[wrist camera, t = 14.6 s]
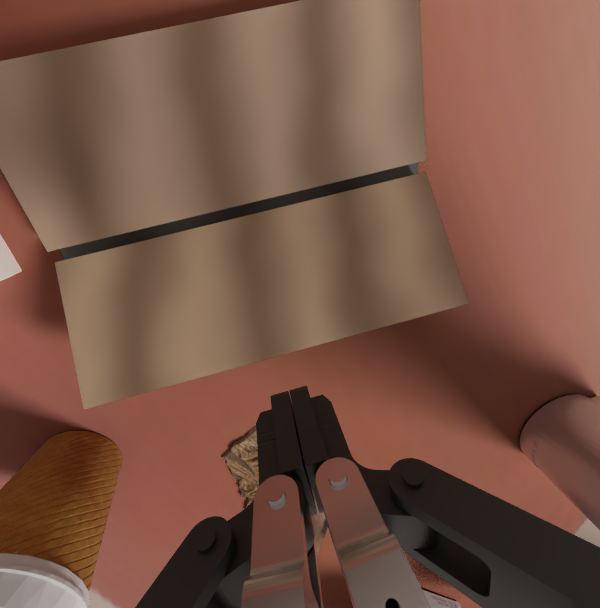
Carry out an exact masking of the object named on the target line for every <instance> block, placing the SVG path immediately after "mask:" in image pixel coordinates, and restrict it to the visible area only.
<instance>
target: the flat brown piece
mask: <svg viewBox="0 0 600 608" xmlns="http://www.w3.org/2000/svg"><path fill="white" fill-rule="evenodd" d="M257 447H258V446H257V432H256V426H255V427H253V428H252V429H251V430H250V431H249V433H248V435H247V436H245V437H244V438H242V439H240V440H238V441H236V442H234V444H233V445H232V448H231V450H229V451H228V452H227V453H226V454H224V455H223V457H222V458H224V459H226V462H227V465H228V466H229V468H230V470H231V473H232V475H233V477H234V478H235V479H239V484H240V485H239V488H240V490H241V491H240V496H242V497H248V501H247V505H246V508H247V507H248V506H249V505H250V503H251V502H252V501H253V499H254V496H255V493H256V491H257V489H258V487H259V470H258V451H257ZM312 491H313V490H312ZM313 496H314V493H313ZM314 500H315V497H314ZM315 505H316V509H317V514H316V515H312V516H311V518H312V523H313V528H314V535H315V536H314V539H315V543H316V551H317V557H318V554H319V550H320V547H321V544H322V541H323V538H324V536H325V534H326V531H327V527H328V524H327V521H326V517H325V514H324V512H321V513H319V510H318V507H317V503H316V500H315Z"/></svg>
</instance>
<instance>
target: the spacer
mask: <svg viewBox="0 0 600 608" xmlns="http://www.w3.org/2000/svg"><path fill="white" fill-rule="evenodd" d="M19 272H22V270H21V268H20V266H19V265H18V263H17V261H16V260H15V258H14V256H13V255H12V253H11V251H10V250H9V248H8V246H7V245H6V243H5V241H4V240H3V238H2V236H1V235H0V281H2V280H4V279H6V278H9V277H11V276H13V275H15V274H17V273H19Z"/></svg>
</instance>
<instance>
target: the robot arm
mask: <svg viewBox="0 0 600 608" xmlns="http://www.w3.org/2000/svg"><path fill="white" fill-rule="evenodd" d="M290 396H291V399H290ZM291 400H292V402H291ZM271 404H272V409H271V410H268V411H264V412H261V413H260V415H259V418H258V420H257V423H256V432H257V446H258V447H257V451H258V470H259V487H258V489H257V491H256V493H255V496H254V499H253V501H252V502H251V503H250V505H249V506H248V507H247V508H246V509H244V510H243V511H242V512H240V513H239V514H237V515H236V516H234V517H233V518H231V519H230V520H228V521H226V520H225V519H224V518H222V517H217V516H214V517H209V518H206V519H204V520H203V521H201V522H199V523H198V524H197V525H196V526H195V527H194V528H193V529H192V530H191V531H190V533H189V534H188V535H187V537H186V538H185V540H184V541H183V542H182V544H181V545H180V546H179V548H178V549H177V551H176V552H175V553H174V555H173V556H172V558H171V559H170V560H169V562H168V563H167V564H166V566H165V567H164V569H163V570H162V571H161V573H160V574H159V576H158V577H157V578H156V580H155V581H154V582H153V584H152V585H151V587H150V588H149V589H148V591H147V592H146V594H145V595H144V596H143V598H142V599H141V600H140V602H139V603H138V605H137V606H136V607H135V608H324V607H323V599H322V591H321V583H320V575H319V567H318V559H317V551H316V543H315V539H314V536H315V535H314V528H313V523H312V518H311V516H312V515H316V514H317V509H316V505H315V500H316V503H317V507H318V510H319V513H321V512H324V514H325V517H326V521H327V524H328V528H329V531H330V535H331V538H332V541H333V545H334V548H335V551H336V554H337V557H338V560H339V564H340V567H341V570H342V573H343V576H344V579H345V583H346V586H347V589H348V592H349V595H350V598H351V602H352V605H353V608H431V607H430V605H429V603H428V601H427V599H426V596H425V594H424V592H423V590H422V588H421V586H420V584H419V582H418V580H417V578H416V576H415V574H414V572H413V570H412V568H411V566H410V564H409V562H408V560H407V558H406V556H405V554H404V552H403V550H404V551H405V552H406V553H407V554H408V555H409V556H411V557H412V558H414V559H415V560H417V561H418V562H419V563H421V564H422V565H424V566H425V567H426V568H428V569H429V570H431V571H432V572H433V573H435V574H436V575H438V576H439V577H440V578H442V579H443V580H445V581H446V582H447V583H449V584H450V585H452V586H453V587H454V588H456V589H457V590H459V591H460V592H461V593H463V594H464V595H466V596H467V597H468V598H470V599H471V600H473V601H474V602H475V603H477V604H478V605H480V606H481V607H482V608H600V547H598V546H595V545H594V544H591V543H590V542H587V541H585V540H583V539H581V538H579V537H577V536H575V535H573V534H571V533H569V532H567V531H565V530H563V529H561V528H559V527H557V526H555V525H553V524H551V523H549V522H547V521H544V520H542V519H540V518H538V517H536V516H534V515H532V514H530V513H528V512H526V511H524V510H522V509H520V508H518V507H516V506H514V505H512V504H510V503H508V502H506V501H504V500H501V499H499V498H497V497H495V496H493V495H491V494H489V493H487V492H485V491H483V490H481V489H479V488H477V487H475V486H473V485H471V484H469V483H467V482H465V481H463V480H461V479H458V478H456V477H454V476H452V475H450V474H448V473H446V472H444V471H442V470H440V469H438V468H436V467H434V466H432V465H430V464H428V463H426V462H424V461H421V460H418V459H413V458H406V459H402V460H399V461H398V462H396V463H395V464H394V465H393V466H392V467H391V469H390V470H372V469H368V468H365V467H363V466H361V465H360V464H358V463H357V462H356V461H355V460H354V459H353V457H352V455H351V453H350V451H349V448H348V445H347V443H346V440H345V438H344V435H343V432H342V430H341V427H340V424H339V422H338V419H337V416H336V414H335V411H334V409H333V406H332V403H331V402H330V401H329V400H328V399H327V398H326V397H325V396H324V395H320V396H316V397H313V398H310V395H309V392H308V389H307V386H303V387H300V388H296V389H293V390H290V395H289V392H288V391H286V392H282V393H279V394H275V395H272V396H271ZM292 405H293V406H292ZM520 447H521V450H522V451H523V452H524V454H525V455H526V456H527V457H528V458H529V459H530V460H531V461H532V462H533V463H534V464H535V465H536V466H537V467H538V468H539V469H540V470H541V471H542V472H543V473H544V474H545V475H546V476H547V477H548V478H549V479H550V480H551V481H552V482H553V483H554V484H555V485H556V486H557V487H558V488H559V489H560V490H561V491H562V492H563V493H564V494H565V495H566V496H567V497H568V498H569V499H570V500H571V502H572V503H573V504H574V505H575V506H576V507H577V508H578V509H579V510H580V511H581V512H582V513H583V514H584V515H585V516H586V517H587V518H588V519H589V520H590V521H591V522H592V523H593V524H594V525H595V526H596V527H597V528H598V529H599V530H600V397H599V396H596V397H592V398H589V397H586V396H584V395H578V394H574V395H567V396H563V397H560V398H557V399H555V400H553V401H551V402H549V403H548V404H546V405H545V406H543V407H542V408H541V409H539V410H538V411H537V412H536V413H535V414H534V415H533V416H532V417H531V418H530V419H529V420H528V422H527V423H526V425H525V426H524V428H523V430H522V432H521V436H520ZM312 490H313V491H312ZM313 493H314V496H313ZM314 497H315V500H314ZM402 549H403V550H402Z"/></svg>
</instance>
